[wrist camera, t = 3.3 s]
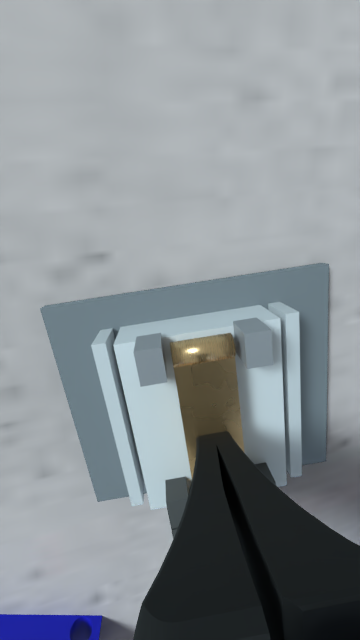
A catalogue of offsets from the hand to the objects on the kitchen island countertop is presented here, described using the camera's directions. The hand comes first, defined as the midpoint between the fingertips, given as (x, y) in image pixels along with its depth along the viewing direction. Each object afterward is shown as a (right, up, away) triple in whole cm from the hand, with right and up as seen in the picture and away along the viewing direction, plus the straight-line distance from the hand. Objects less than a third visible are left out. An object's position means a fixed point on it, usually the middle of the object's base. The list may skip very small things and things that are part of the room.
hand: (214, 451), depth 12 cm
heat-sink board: (0, +2, +4) cm, 4 cm away
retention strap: (0, +1, 0) cm, 1 cm away
